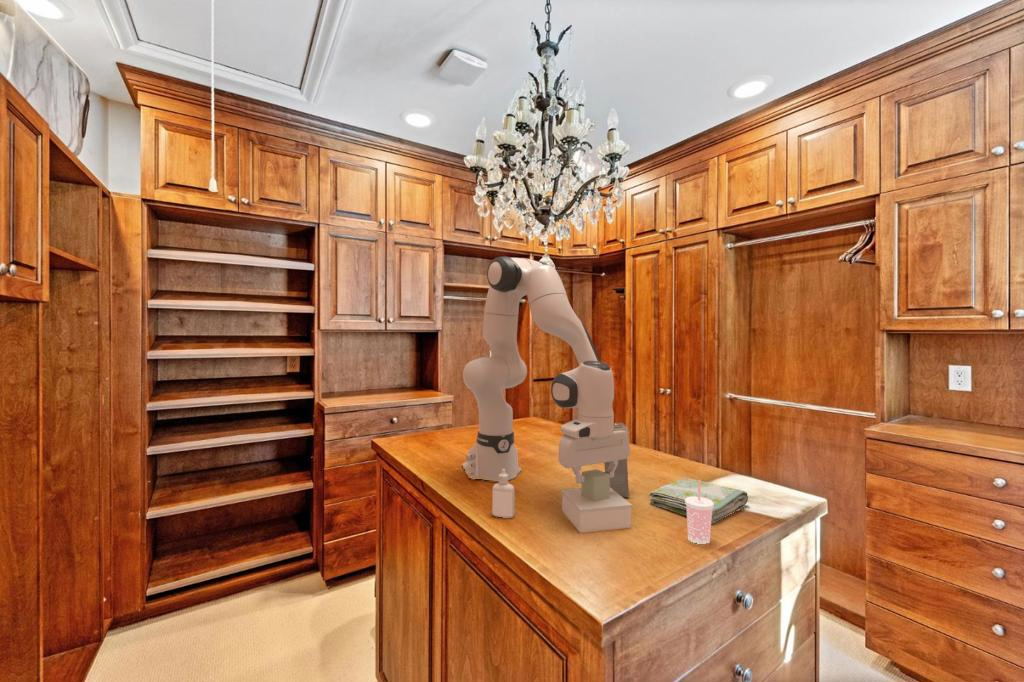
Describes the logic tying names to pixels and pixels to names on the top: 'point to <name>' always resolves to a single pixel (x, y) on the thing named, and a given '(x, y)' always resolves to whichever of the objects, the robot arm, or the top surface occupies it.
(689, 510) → the beverage cup
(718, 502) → the towel
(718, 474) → the top surface
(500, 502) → the eye dropper bottle
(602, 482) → the green block
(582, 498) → the storage box
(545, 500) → the top surface
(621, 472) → the skincare box
